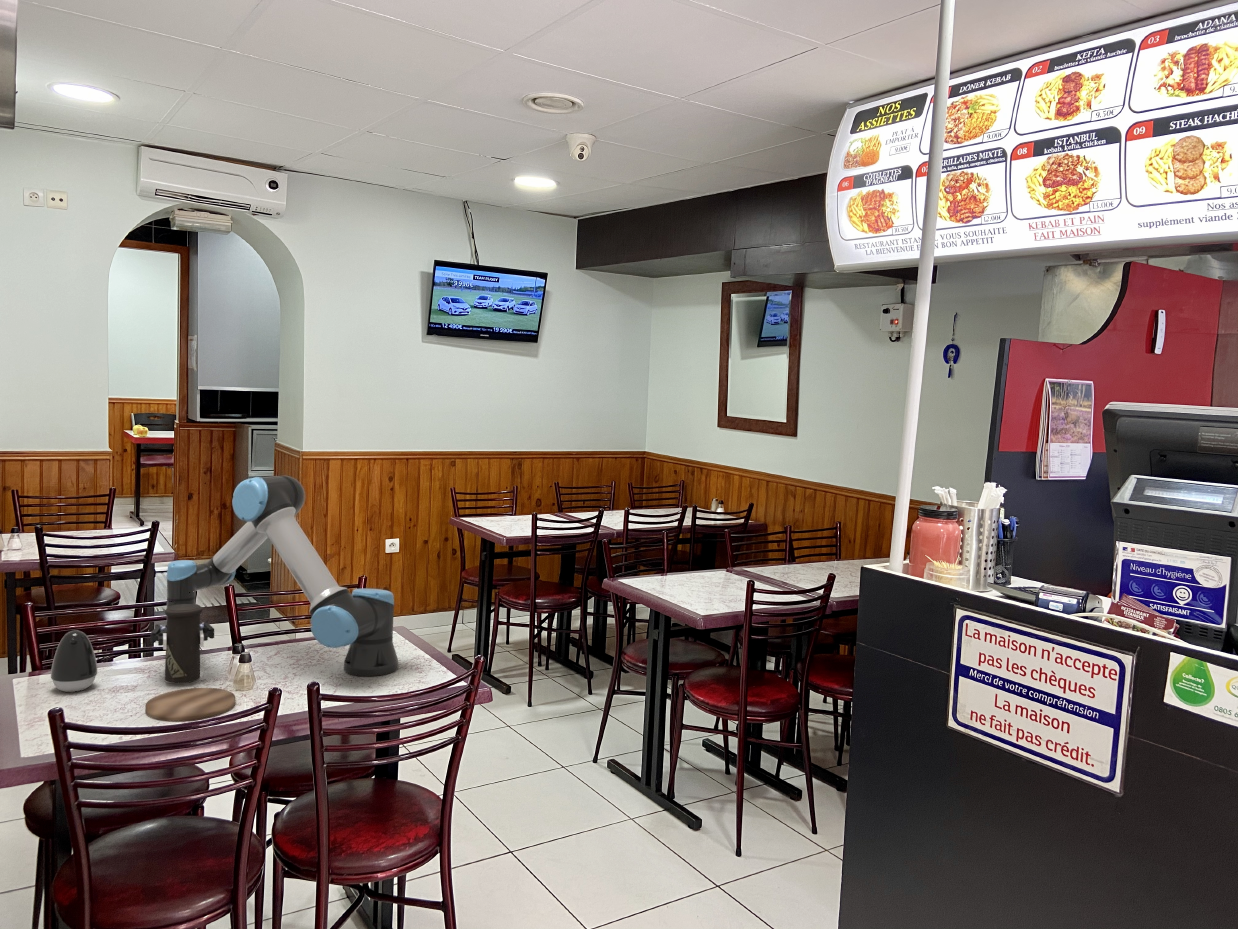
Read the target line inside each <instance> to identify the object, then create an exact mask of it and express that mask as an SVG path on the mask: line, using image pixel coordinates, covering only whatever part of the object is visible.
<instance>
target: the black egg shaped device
mask: <svg viewBox="0 0 1238 929" xmlns="http://www.w3.org/2000/svg"><path fill="white" fill-rule="evenodd" d="M97 674H98V664H97V658H96V655H95V651H94V648H93V645H92V643H91V641H90V638H89V637H88V636H87V634H86V633H85V632H83V631H81V630H77V629H76V630H70V631H68V632H66V633H65V634H64V636H63V637H62V638H61V640H60V642H59V643H58V646H57V647H56V651H55V654H54V656H53V661H52V665H51V670H50V679H51V680H52V682H53V685H54V686H55V687H56V689H57V690H59V691H61V692H63V693H64V692H65V693H76V692H75V691H77V692H80V690H81V691H84V690H86V689H87V688H89V687H90V686H92V684H93V683H94V681H95V679H96V677H97Z"/></svg>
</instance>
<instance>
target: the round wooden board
mask: <svg viewBox="0 0 1238 929" xmlns="http://www.w3.org/2000/svg"><path fill="white" fill-rule="evenodd" d="M235 706H236V694H234V693H233V692H232V691H230V690H227V689H223V688H215V687H192V688H183V689H182V688H181V689H176V690H172V691H171V690H170V691H167V692H163V693H161V694H158V695H156V696H154V697H152V698H150V699H148V700H147V701H146V703H145V709H144V710H145V712H144V713H145V715H146V716H147V717H149V718H150V719H151V718H152V719H153V720H157V721H164V722H191V721H192V722H193V721H199V720H205V719H210V718H213V717H217V716H221V715H223V714H224V713H227V712H229V711H231V710H232V709H233V708H234V707H235Z"/></svg>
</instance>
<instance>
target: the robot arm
mask: <svg viewBox="0 0 1238 929" xmlns="http://www.w3.org/2000/svg"><path fill="white" fill-rule="evenodd" d="M232 496H233V497H232V501H231V502H232V509H233V513H234V514H235V516H236V517H237V518H238V519H240V520H241V521H245V522H246V523H245V524H244V525H243V526H242V527H241V528H240V529H239V530H238V531H237V532H236V533H235V534H234V535H233V536H232V537H230V539H229V540H228V541H227V542H226V543H225V544H224V545H223V546H222V547H221V548H220V549H219V550H218V551H217V552H216V553H215V555H213V556H212V557H211V558H210V559H209V560H208V561H207V562H204V563H199V564H198V563H196V562H195V561H194V560H189V559H187V560H186V559H180V560H174V561H171V562H169V563H168V565H167V569H166V609H167V608H168V607H170V606H172V605H178V604H196V595H197V594H196V592H197V591H200V590H204V589H208V588H213V587H217V586H222V585H225V584H226V583H227V584H228V583H230V582H232V581H233V580H234V578H235V575H236V573H237V572H236V571H237V569H238V568H239V567H240V566H241V565H242V564H243V563H244V562H245V561H246V560H247V559H249V557H250V556H252V554H253V553H254V552H255V551H256V550H257V549H258V548H259V547H260V546H261V545H262V544H263V543H265V541H267V539H268V540H270V541H269V542H270V543H271V544H272V546H273V547H274V549H275V551H276V552H277V554H278V555H279V556H280V558H281V560H282V561H283V563H284V564H285V566H286V567H287V569H288V570H289V572H290V574H291V575H292V576H293V578H294V580H295V581H296V583H297V584H298V586H299V587H300V589H301V590H302V592H303V594H304V595H305V597H306V599H307V600H308V601H309V603H310V607H309V611H308V612H309V614H310V616H311V618H310V625H311V626H310V630H311V631H310V632H311V633H312V635H313V638H314V639H315V640H316V641H317V642H318V643H319V644H321V645H322V646H325V647H326V648H331V649H337V648H343V647H347V646H348V650H347V652H346V655H345V658H344V660H343V671H344V672H345V673H347V674H350V675H352V676H358V677H359V676H360V677H377V676H385V675H389V674H392V673H394V672H396V671H397V670H398V669H399V658H398V656H397V652H396V649H395V645H394V642H393V641H394V640H393V637H394V636H393V634H394V612H395V609H394V608H395V603H394V602H395V599H394V593H393V592H391V591H389V590H386V589H380V588H356V589H353V590H352V593H351V592H350V591H349V589H348V587H344V586H339V584H338V582H337V581H336V580H335V578H334V577H333V575H332V573H331V572H330V570H329V568H328V567H327V566H326V564H325V563H324V561H323V559H322V558H321V557H320V555H319V553H318V551H317V550H316V549H315V548H314V546H313V545H312V543H311V541H310V540H309V538H308V536H307V535H306V533H305V532H304V530H303V529H302V527H301V526H300V524H299V522H297V519H296V516H297V514H298V513H300V511H301V509H302V508H303V506H304V505H305V501H306V491H305V489H304V486H303V485H302V484H301V482H300V481H299V480H298V479H296V478H295V477H292V476H290V475H285V474H284V475H283V474H282V475H281V474H280V475H274V476H265V477H259V476H255V477H253V478H252V477H251V478H247V479H245V480H243V481H241V482H240V483H238V484H237V486H236V487H235V489H234V492H233V495H232ZM193 591H195V592H193ZM189 592H190V593H189ZM169 601H174V602H169ZM165 618H167V616H166V615H165ZM166 635H167V624H165V625H164V626H163V625H161V624H155V625H154V629H152V631H151V632H150V643H151V644H155V643H156V642H157V645H158V646H161V647H162V649H163V650H165V651H166V640H167V639H166ZM209 639H215V628H214V627H213V626H212V625H211V624H210V621H207V620H206V621H204V622H202V623H200V648H201V647H202V648H203V647H204V643H205V642H207V641H209Z"/></svg>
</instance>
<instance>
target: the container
mask: <svg viewBox="0 0 1238 929" xmlns="http://www.w3.org/2000/svg"><path fill="white" fill-rule="evenodd" d="M203 610H204V608H203V607H202V606H201V605H199V604H196V603H195V604H178V605H172V606H170V607H168V608H167V607H166V608H165V610H164V614H165V617H166V616H167V617H166V625H167V635H166V639H167V640H166V650H165V660H164V661H165V665H164V681H165V682H167V683H169V684H170V683H171V684H186V683H192V682H196V681H198V680H199V679H200V678H201V647H200V624H201V614H202V612H203Z"/></svg>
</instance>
